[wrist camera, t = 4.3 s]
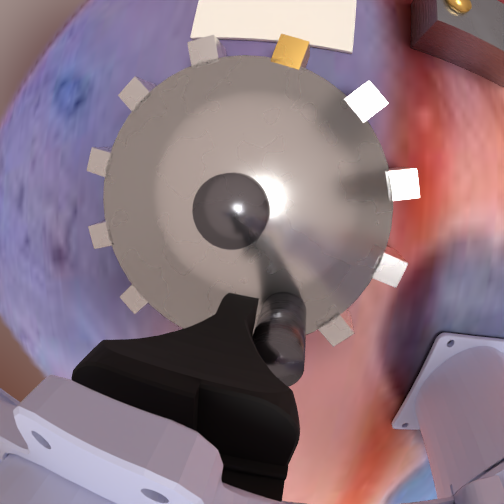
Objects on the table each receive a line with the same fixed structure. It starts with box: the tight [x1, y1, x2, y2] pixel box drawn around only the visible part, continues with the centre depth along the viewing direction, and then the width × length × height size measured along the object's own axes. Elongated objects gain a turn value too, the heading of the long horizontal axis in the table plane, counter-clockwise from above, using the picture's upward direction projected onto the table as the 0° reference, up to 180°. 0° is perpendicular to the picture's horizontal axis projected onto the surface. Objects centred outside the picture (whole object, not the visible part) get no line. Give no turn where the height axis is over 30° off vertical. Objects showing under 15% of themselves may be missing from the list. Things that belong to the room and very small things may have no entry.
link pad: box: [190, 0, 356, 54], centre depth 12 cm, size 8×5×1 cm, turn 82°
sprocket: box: [87, 34, 420, 386], centre depth 12 cm, size 15×15×6 cm
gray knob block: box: [411, 0, 504, 87], centre depth 8 cm, size 6×3×4 cm, turn 82°
